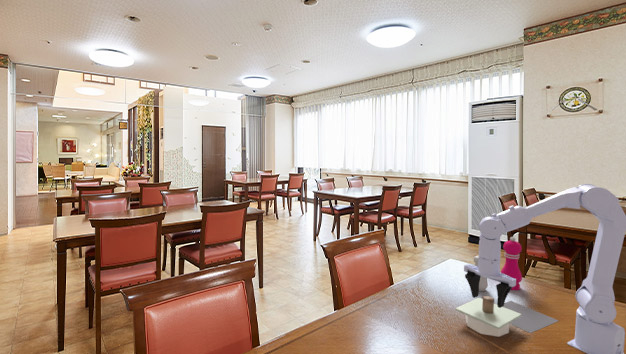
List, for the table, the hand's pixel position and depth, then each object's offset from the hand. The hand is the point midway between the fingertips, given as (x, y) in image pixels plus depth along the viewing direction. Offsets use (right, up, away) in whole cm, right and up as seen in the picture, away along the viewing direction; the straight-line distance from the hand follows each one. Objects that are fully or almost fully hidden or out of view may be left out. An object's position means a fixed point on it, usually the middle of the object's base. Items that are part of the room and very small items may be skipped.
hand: (487, 301), depth 97 cm
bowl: (0, -8, +1) cm, 8 cm away
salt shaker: (+11, -6, +26) cm, 29 cm away
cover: (0, -4, +1) cm, 4 cm away
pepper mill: (+24, -6, +28) cm, 38 cm away
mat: (+14, -7, +6) cm, 17 cm away
